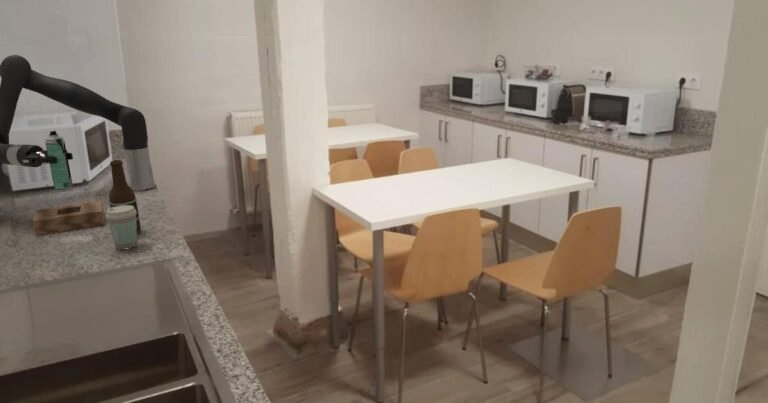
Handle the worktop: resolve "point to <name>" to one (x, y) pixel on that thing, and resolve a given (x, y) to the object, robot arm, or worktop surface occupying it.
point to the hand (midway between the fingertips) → (64, 158)
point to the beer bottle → (122, 190)
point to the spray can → (59, 162)
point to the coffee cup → (123, 225)
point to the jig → (68, 217)
